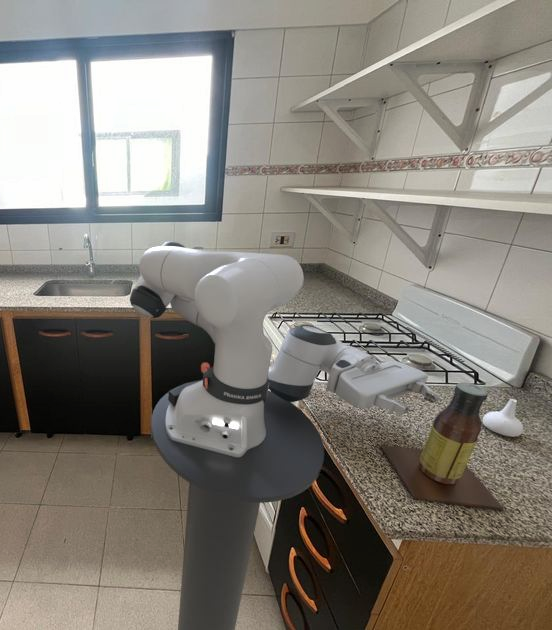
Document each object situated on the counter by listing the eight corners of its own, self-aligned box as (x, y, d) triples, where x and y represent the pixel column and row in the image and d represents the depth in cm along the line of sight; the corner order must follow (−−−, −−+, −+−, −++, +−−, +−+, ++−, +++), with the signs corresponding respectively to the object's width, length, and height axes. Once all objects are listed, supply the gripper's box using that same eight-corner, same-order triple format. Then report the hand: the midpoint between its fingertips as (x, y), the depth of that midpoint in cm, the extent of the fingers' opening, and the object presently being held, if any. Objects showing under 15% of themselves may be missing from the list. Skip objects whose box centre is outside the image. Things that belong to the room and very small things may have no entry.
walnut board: (413, 498, 63) (414, 496, 62) (380, 447, 74) (381, 445, 74) (502, 510, 60) (504, 508, 60) (454, 455, 72) (455, 453, 72)
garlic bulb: (490, 436, 77) (505, 407, 73) (474, 418, 82) (487, 390, 79) (526, 442, 75) (543, 413, 72) (507, 423, 80) (522, 395, 77)
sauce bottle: (451, 466, 68) (492, 383, 60) (463, 491, 63) (510, 404, 55) (411, 456, 71) (445, 374, 63) (419, 479, 66) (458, 394, 58)
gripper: (383, 371, 84) (448, 405, 72) (321, 391, 77) (382, 431, 65) (390, 349, 81) (460, 380, 70) (327, 367, 74) (391, 404, 63)
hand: (421, 405), depth 67 cm, fingers open, 8 cm apart
